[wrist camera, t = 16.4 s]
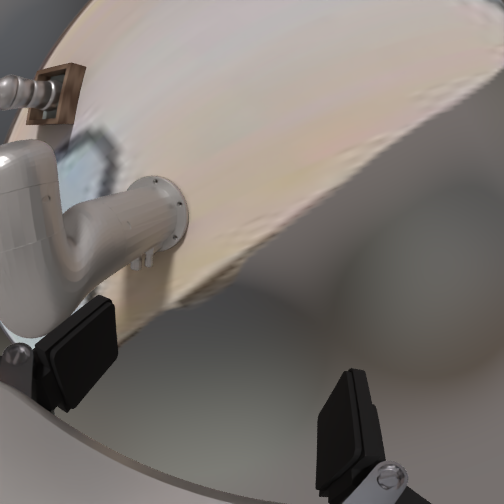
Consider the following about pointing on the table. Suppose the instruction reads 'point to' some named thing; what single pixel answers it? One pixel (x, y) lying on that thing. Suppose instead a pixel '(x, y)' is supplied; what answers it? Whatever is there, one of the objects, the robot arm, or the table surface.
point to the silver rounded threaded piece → (29, 93)
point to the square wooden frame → (68, 98)
